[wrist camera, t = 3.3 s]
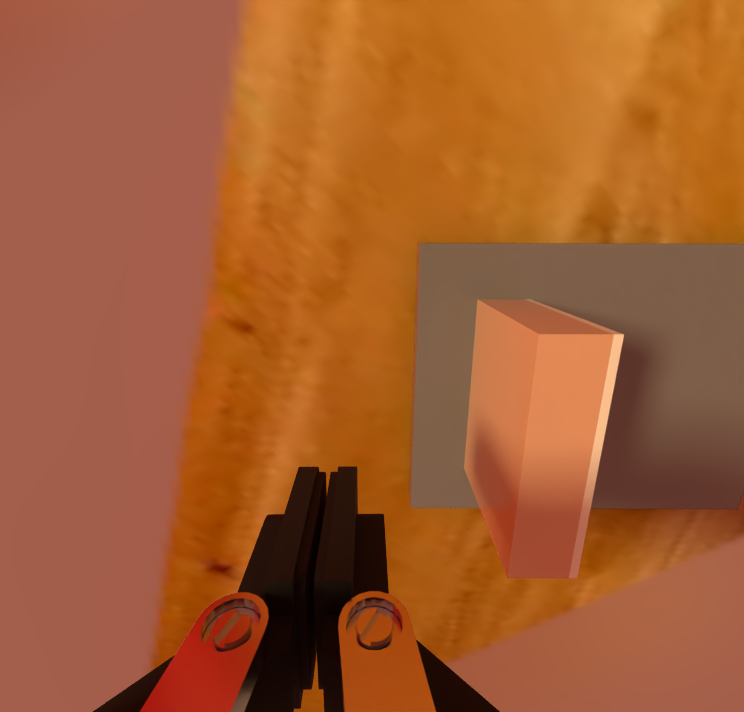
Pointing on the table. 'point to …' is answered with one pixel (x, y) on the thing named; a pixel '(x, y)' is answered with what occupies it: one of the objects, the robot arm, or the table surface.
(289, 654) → the robot arm
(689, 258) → the board
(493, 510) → the tile
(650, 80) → the table surface
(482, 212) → the table surface
